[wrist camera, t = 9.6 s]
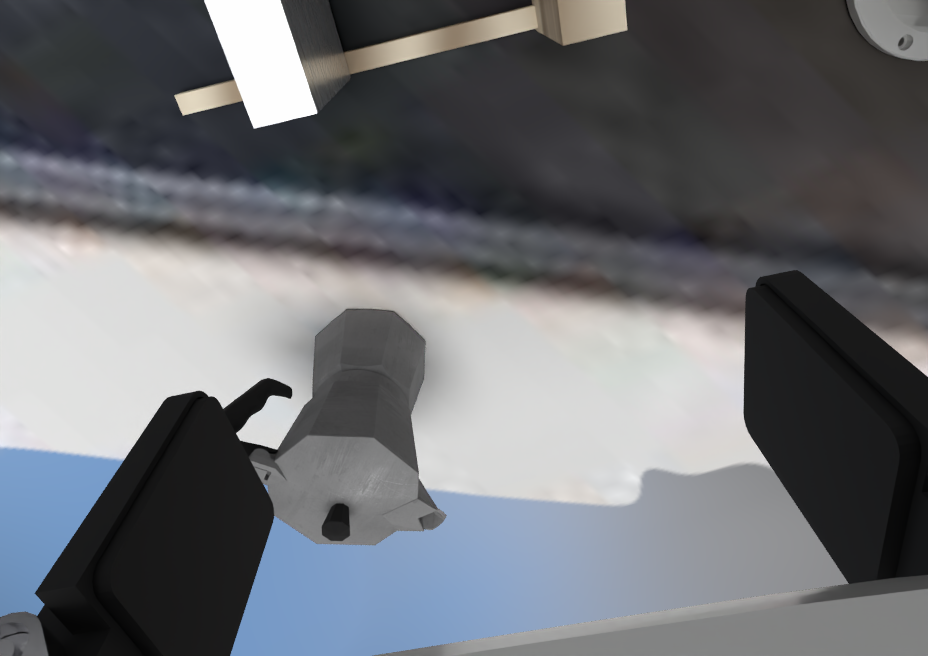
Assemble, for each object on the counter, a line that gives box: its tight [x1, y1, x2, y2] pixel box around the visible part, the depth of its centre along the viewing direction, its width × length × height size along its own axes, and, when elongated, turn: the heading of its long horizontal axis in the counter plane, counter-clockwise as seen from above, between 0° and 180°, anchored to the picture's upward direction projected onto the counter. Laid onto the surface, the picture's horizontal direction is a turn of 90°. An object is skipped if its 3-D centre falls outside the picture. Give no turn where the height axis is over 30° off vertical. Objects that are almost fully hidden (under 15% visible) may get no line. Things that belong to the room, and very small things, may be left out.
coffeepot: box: [223, 309, 446, 545], centre depth 40 cm, size 15×9×18 cm, turn 64°
